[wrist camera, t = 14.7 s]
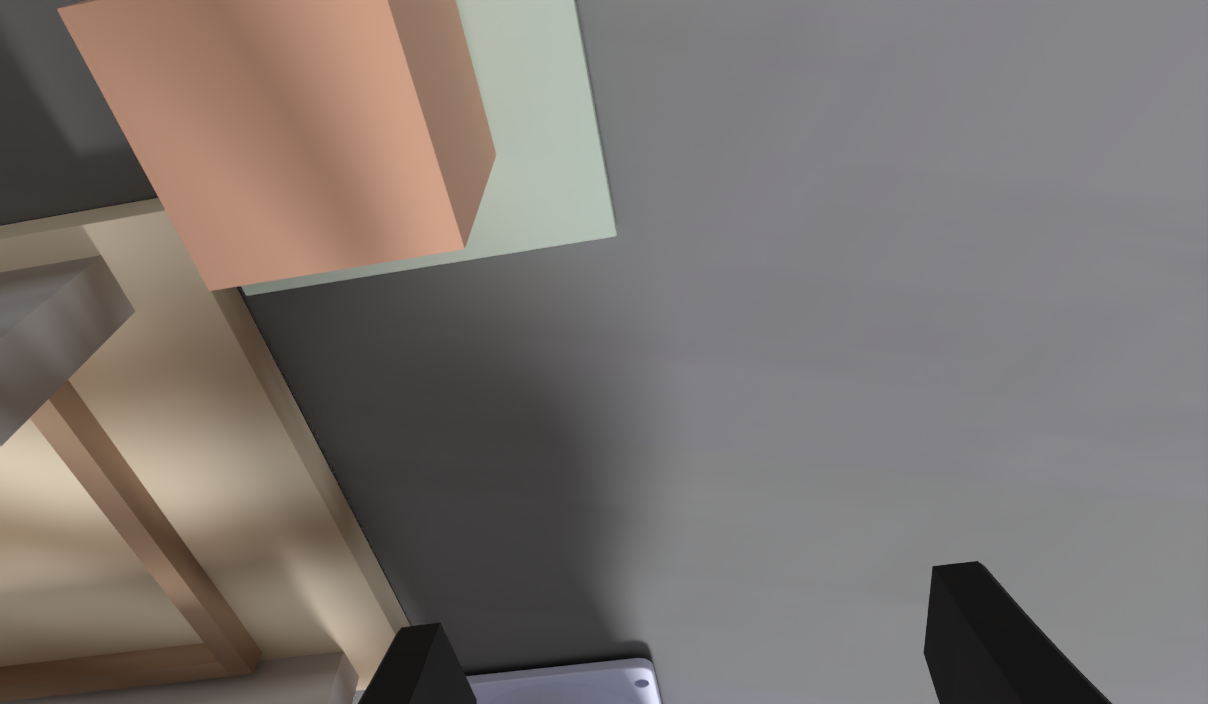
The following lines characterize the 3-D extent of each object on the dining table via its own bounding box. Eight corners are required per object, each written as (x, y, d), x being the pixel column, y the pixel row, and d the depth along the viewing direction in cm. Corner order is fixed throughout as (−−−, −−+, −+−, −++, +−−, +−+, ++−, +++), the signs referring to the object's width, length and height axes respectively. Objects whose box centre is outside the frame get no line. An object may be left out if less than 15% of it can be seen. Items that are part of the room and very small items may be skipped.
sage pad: (616, 225, 18) (616, 235, 17) (255, 283, 19) (246, 296, 18) (528, -260, 13) (526, -265, 12) (41, -150, 14) (20, -149, 13)
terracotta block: (496, 155, 16) (464, 249, 12) (297, 189, 17) (209, 291, 13) (433, -84, 14) (370, -56, 10) (201, -35, 14) (56, 9, 10)
